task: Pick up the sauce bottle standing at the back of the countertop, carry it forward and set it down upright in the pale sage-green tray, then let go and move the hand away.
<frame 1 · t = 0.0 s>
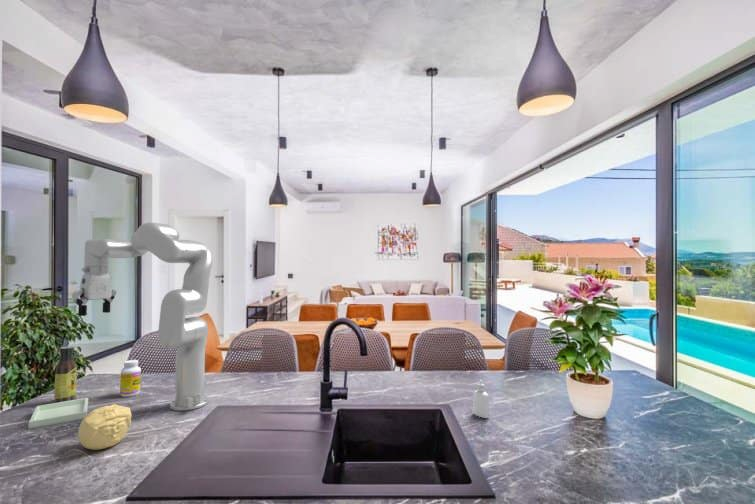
hand: (94, 314, 148), 31 cm above the kitchen island, tool pointing down, fingers open, 9 cm apart
tray: (60, 415, 126), on the kitchen island
sauce bottle: (65, 401, 139), on the kitchen island
eye dropper bottle: (481, 416, 127), on the kitchen island
supplement bottle: (130, 394, 147), on the kitchen island
sculpture: (104, 445, 106), on the kitchen island
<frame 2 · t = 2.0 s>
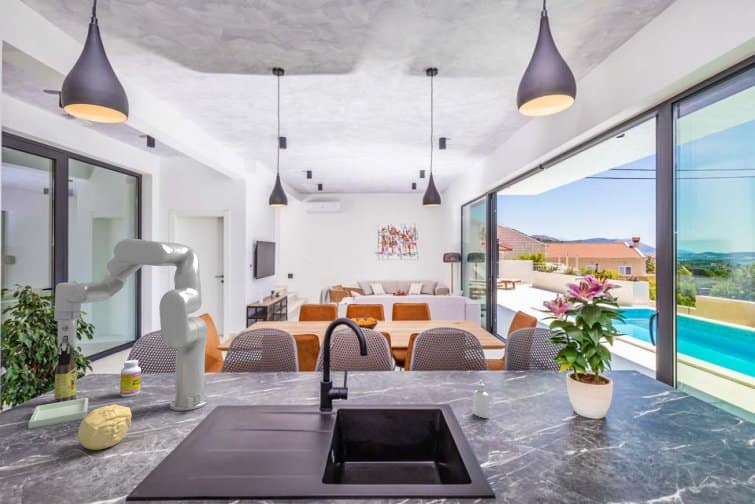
hand: (65, 361, 139), 15 cm above the kitchen island, tool pointing down, fingers open, 9 cm apart
nothing on the kitchen island moved.
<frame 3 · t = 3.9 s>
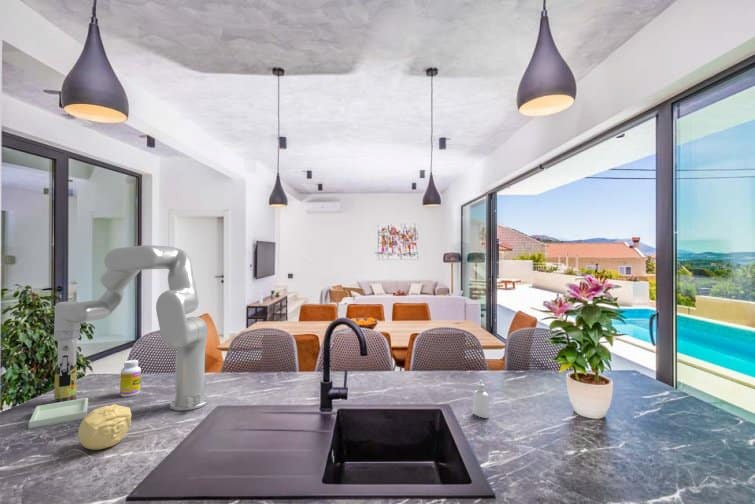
hand: (65, 383, 139), 7 cm above the kitchen island, tool pointing down, fingers closed on sauce bottle, 6 cm apart
sauce bottle: (65, 401, 139), on the kitchen island, touching gripper
everything else where it was.
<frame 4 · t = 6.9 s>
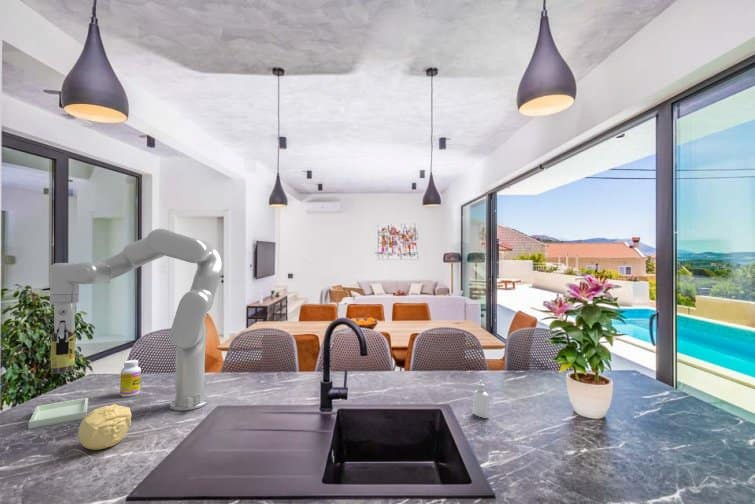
hand: (63, 351, 127), 21 cm above the kitchen island, tool pointing down, fingers closed on sauce bottle, 6 cm apart
sauce bottle: (62, 372, 127), point 14 cm above the kitchen island, touching gripper
everything else where it was.
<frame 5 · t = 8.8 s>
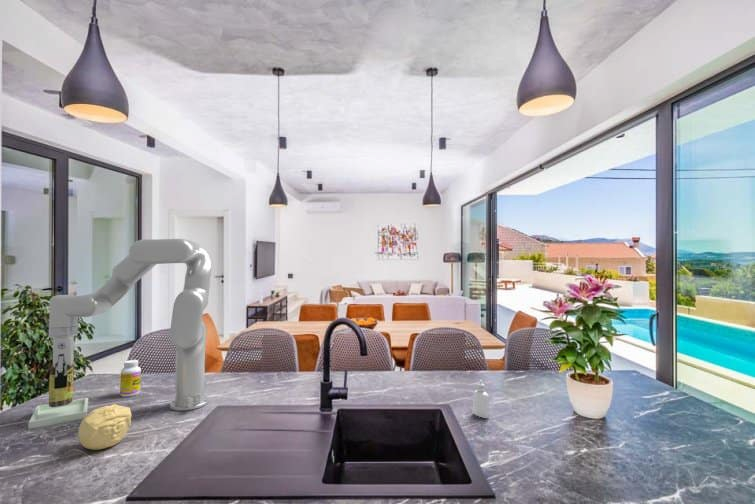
hand: (61, 384, 126), 10 cm above the kitchen island, tool pointing down, fingers closed on sauce bottle, 6 cm apart
sauce bottle: (60, 405, 126), point 3 cm above the kitchen island, touching gripper
everything else where it was.
when the fingers open (8 cm above the kitchen island, at t = 10.2 s): sauce bottle stays where it is, resting on tray.
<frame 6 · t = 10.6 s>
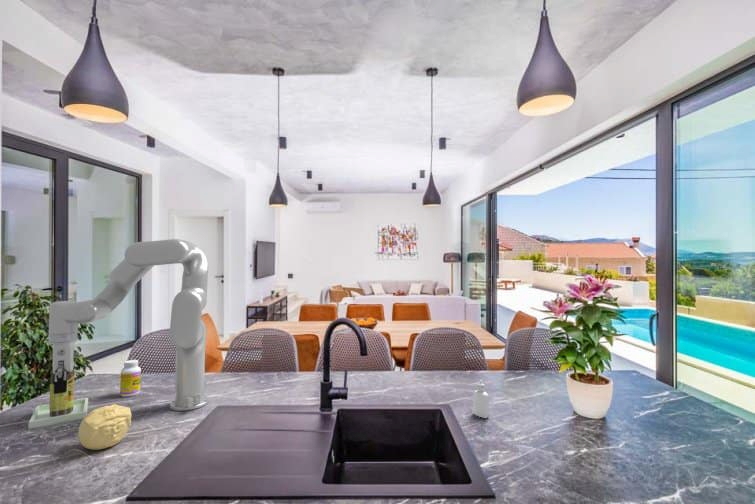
hand: (61, 388, 126), 9 cm above the kitchen island, tool pointing down, fingers open, 9 cm apart
sauce bottle: (61, 414, 126), resting on tray
everything else where it was.
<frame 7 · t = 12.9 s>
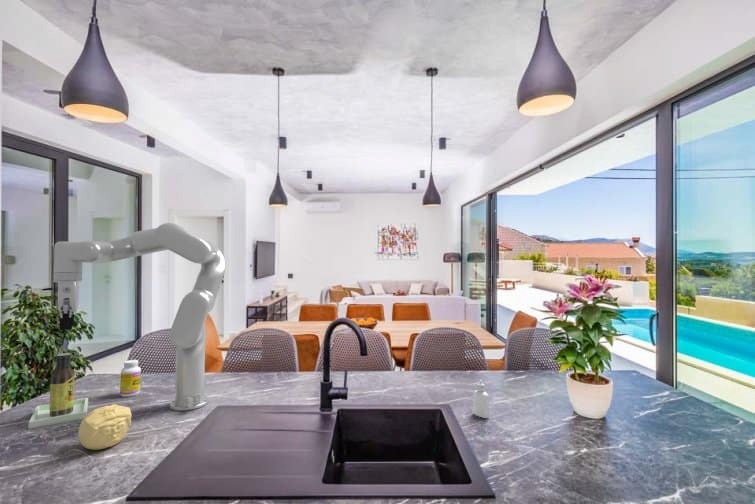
hand: (67, 327, 128), 29 cm above the kitchen island, tool pointing down, fingers open, 9 cm apart
nothing on the kitchen island moved.
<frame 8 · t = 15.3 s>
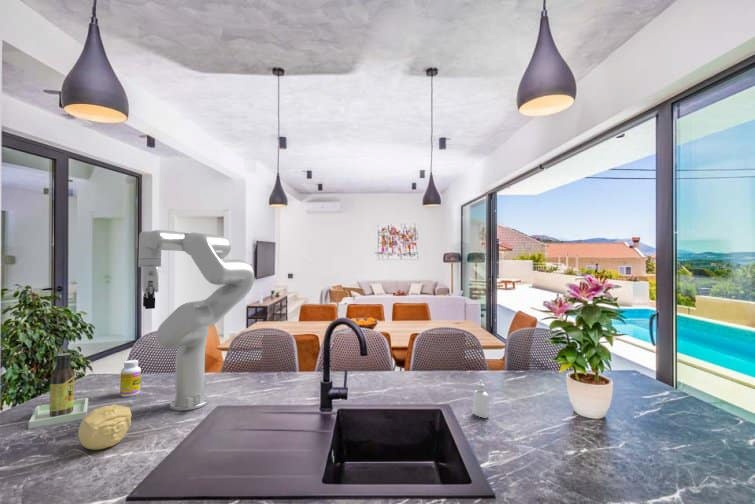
hand: (148, 307, 145), 34 cm above the kitchen island, tool pointing down, fingers open, 9 cm apart
nothing on the kitchen island moved.
at the end: sauce bottle inside the target area on the tray (0.4 cm from its centre), point 0.4 cm above the tray's base; sauce bottle tilted 0°; the gripper is holding nothing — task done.
